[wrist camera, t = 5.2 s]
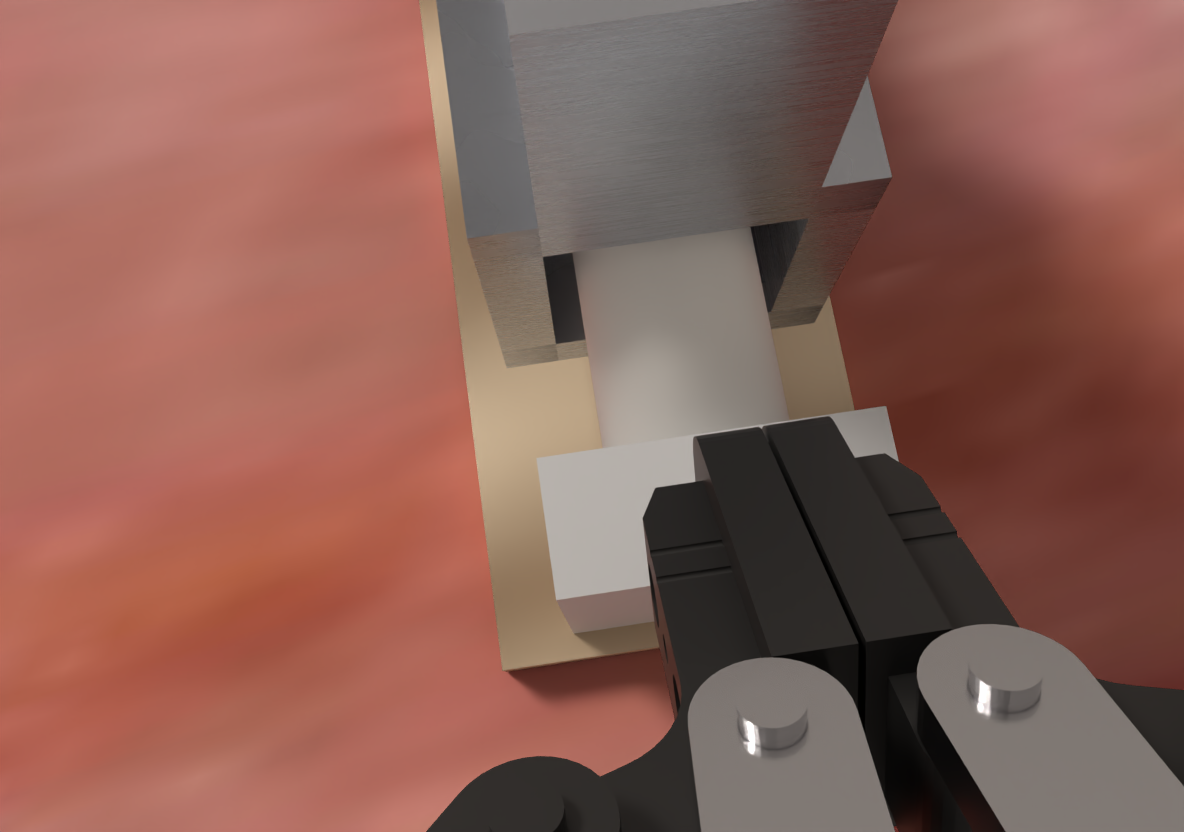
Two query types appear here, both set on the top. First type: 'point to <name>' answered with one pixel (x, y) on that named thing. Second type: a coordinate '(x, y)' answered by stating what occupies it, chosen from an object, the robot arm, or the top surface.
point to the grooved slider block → (659, 143)
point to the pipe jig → (662, 406)
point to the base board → (561, 428)
